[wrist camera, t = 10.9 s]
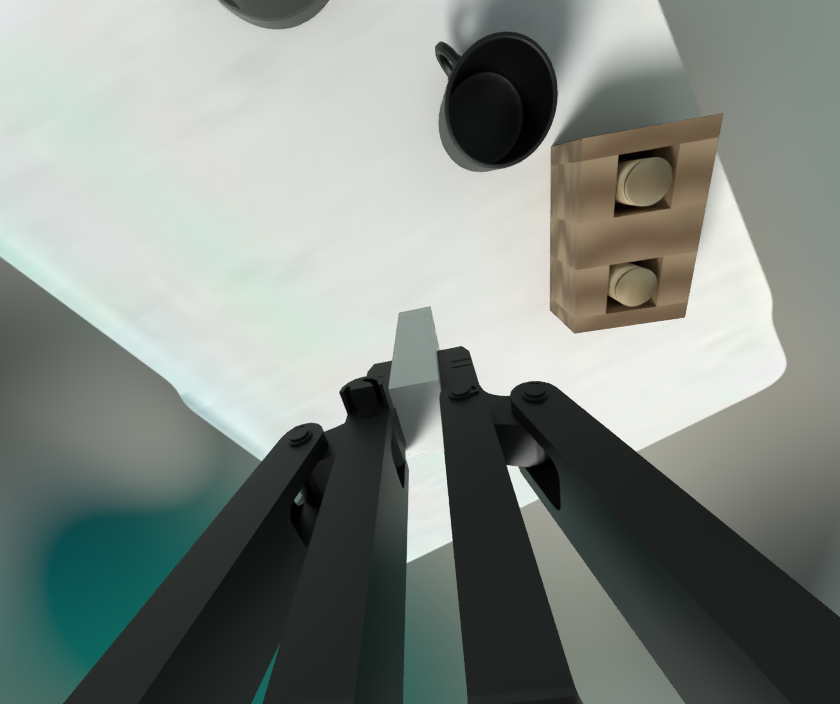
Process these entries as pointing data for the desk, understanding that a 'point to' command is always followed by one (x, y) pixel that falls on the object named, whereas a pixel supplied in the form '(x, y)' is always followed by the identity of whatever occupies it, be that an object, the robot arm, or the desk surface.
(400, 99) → the desk surface
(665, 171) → the peg
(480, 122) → the mug
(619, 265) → the peg
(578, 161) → the walnut block
